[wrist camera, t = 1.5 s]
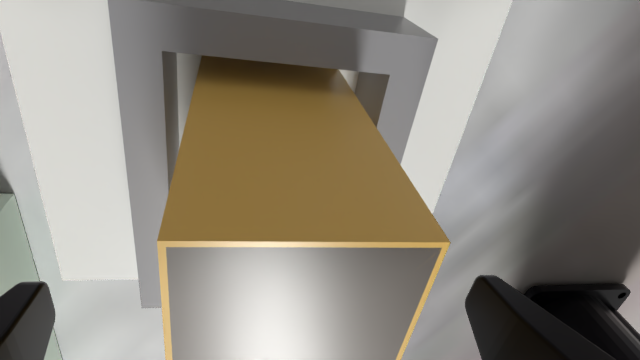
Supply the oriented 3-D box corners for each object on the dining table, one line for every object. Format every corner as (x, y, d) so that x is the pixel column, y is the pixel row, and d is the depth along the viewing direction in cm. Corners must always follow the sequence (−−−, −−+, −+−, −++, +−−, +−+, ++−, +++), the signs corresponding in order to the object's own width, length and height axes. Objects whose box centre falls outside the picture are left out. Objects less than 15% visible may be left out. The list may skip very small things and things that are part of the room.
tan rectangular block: (337, 67, 12) (450, 242, 6) (310, 221, 16) (363, 447, 9) (202, 53, 12) (157, 240, 5) (201, 219, 15) (173, 469, 8)
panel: (500, -20, 13) (576, 0, 10) (402, 259, 19) (431, 321, 16) (-12, -107, 10) (-117, -115, 7) (71, 261, 16) (35, 338, 13)
